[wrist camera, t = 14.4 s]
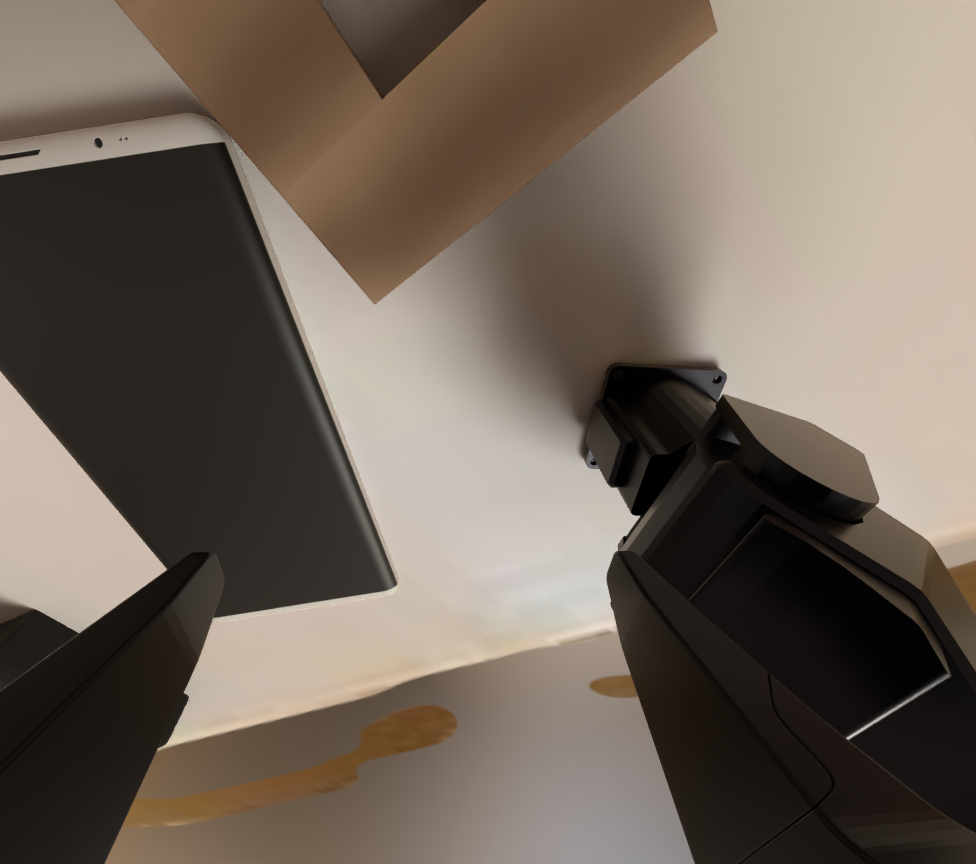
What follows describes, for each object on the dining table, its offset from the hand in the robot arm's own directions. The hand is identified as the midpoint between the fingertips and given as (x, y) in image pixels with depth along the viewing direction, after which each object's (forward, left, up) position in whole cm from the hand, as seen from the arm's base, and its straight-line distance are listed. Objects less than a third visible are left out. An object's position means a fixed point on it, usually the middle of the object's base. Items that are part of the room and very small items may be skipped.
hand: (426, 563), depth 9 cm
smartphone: (+12, +6, -14) cm, 19 cm away
